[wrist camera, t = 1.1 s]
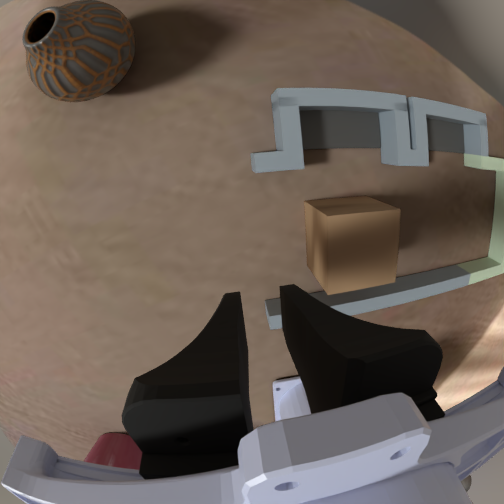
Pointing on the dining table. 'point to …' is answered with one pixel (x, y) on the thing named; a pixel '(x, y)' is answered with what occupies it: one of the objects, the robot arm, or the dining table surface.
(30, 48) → the vase
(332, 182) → the dining table surface
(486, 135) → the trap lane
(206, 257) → the dining table surface
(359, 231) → the walnut block
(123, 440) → the plant pot
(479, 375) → the dining table surface
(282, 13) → the dining table surface
